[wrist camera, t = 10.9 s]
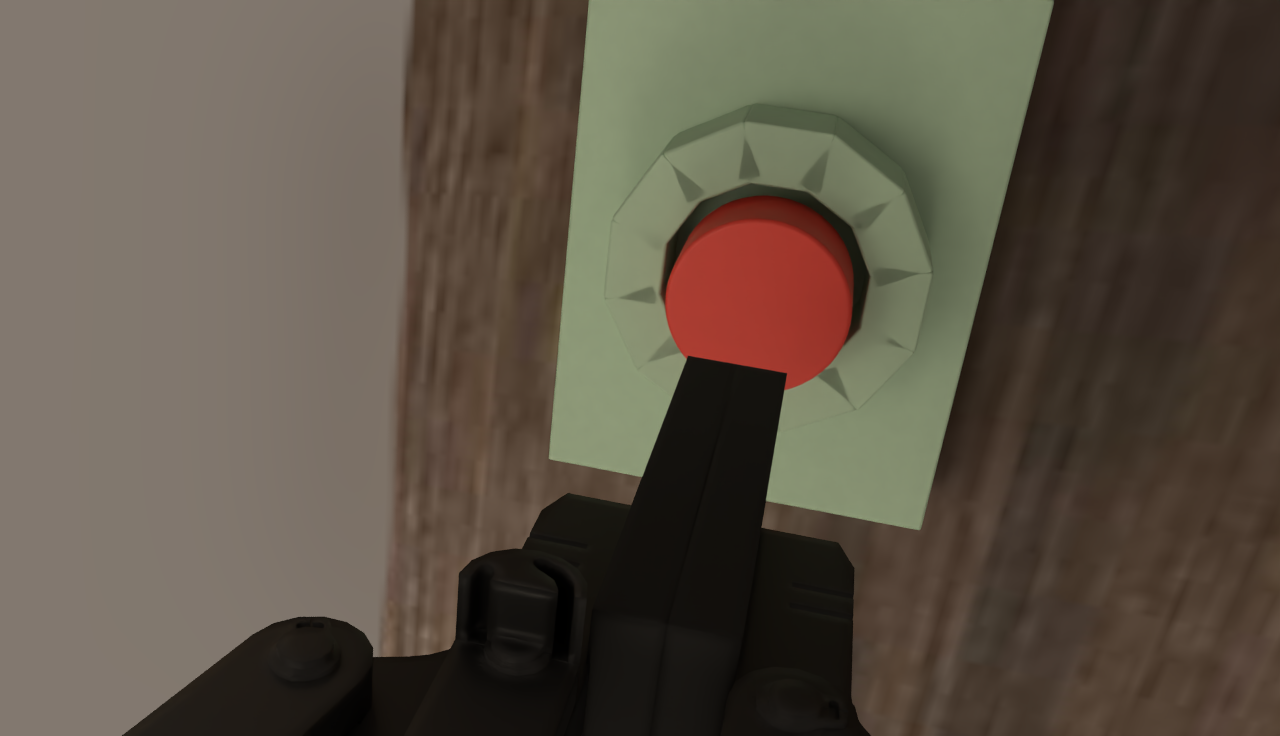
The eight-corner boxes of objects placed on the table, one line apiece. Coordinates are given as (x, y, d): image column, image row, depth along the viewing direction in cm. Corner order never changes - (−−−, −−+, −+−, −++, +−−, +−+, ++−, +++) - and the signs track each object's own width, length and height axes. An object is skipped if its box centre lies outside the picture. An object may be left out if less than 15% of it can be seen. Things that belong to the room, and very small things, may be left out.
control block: (615, -70, 25) (572, -57, 21) (1040, -12, 24) (1069, 11, 20) (569, 420, 30) (528, 496, 26) (917, 485, 29) (923, 574, 25)
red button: (689, 181, 23) (676, 204, 22) (869, 209, 23) (868, 235, 21) (668, 344, 25) (654, 377, 23) (836, 373, 24) (833, 410, 23)
